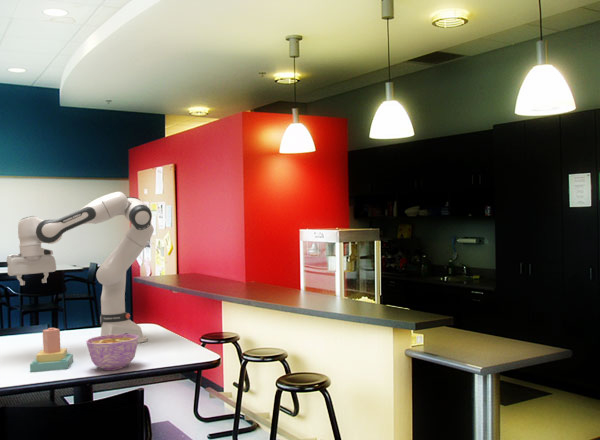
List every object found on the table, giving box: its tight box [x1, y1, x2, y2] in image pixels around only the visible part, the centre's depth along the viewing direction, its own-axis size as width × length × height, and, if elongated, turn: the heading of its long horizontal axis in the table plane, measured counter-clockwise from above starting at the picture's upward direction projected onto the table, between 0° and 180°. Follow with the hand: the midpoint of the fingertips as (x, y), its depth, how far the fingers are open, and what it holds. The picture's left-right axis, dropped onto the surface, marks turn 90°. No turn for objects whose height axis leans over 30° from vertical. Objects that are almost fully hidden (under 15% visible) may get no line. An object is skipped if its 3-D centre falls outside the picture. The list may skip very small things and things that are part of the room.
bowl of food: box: [86, 334, 139, 371], centre depth 238 cm, size 20×20×12 cm
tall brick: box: [42, 327, 61, 354], centre depth 244 cm, size 5×5×10 cm
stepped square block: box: [29, 348, 74, 373], centre depth 244 cm, size 14×14×6 cm
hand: (33, 284), depth 265 cm, fingers open, 8 cm apart
